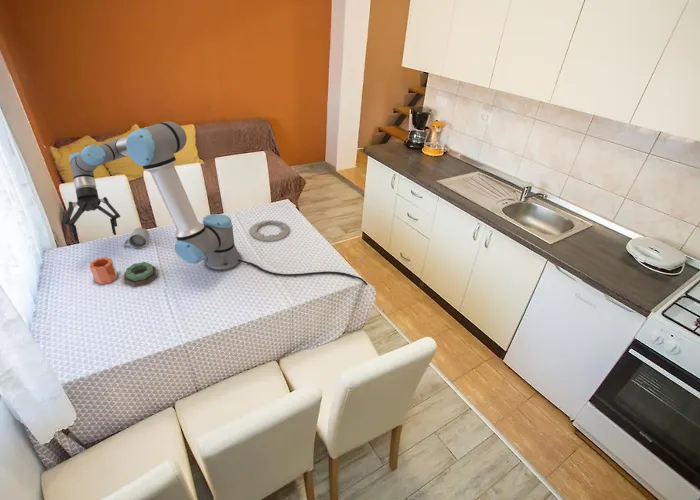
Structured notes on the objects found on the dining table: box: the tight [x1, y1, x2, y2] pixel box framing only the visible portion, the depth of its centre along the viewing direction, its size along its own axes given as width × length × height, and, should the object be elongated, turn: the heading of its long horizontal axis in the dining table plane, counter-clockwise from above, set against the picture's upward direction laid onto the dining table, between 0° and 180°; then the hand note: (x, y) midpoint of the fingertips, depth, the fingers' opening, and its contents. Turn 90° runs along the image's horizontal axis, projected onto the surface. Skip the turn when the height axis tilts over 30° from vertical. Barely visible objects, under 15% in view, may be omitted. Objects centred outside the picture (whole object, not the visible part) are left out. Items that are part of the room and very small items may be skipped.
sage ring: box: [125, 261, 154, 281], centre depth 161 cm, size 10×10×2 cm
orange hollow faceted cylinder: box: [89, 256, 118, 285], centre depth 158 cm, size 8×8×8 cm
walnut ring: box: [123, 265, 158, 287], centre depth 162 cm, size 12×12×2 cm
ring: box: [250, 220, 290, 242], centre depth 199 cm, size 19×19×2 cm
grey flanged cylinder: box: [124, 227, 150, 249], centre depth 180 cm, size 11×8×8 cm
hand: (96, 237), depth 157 cm, fingers open, 13 cm apart
